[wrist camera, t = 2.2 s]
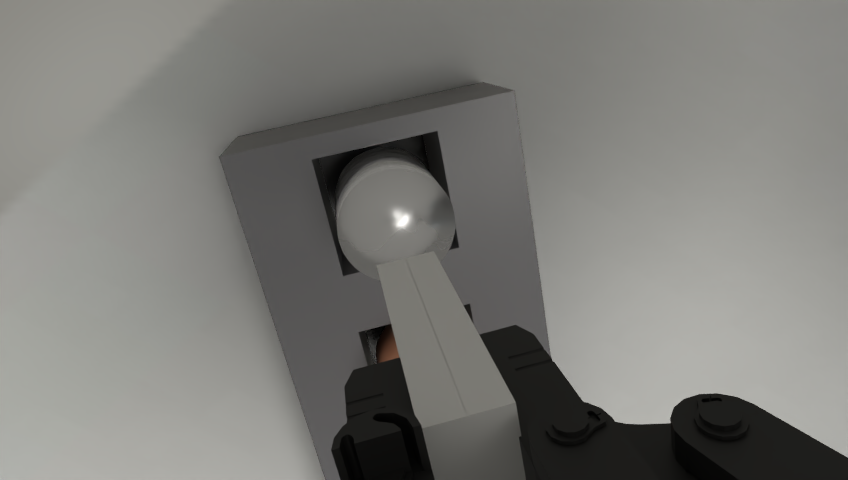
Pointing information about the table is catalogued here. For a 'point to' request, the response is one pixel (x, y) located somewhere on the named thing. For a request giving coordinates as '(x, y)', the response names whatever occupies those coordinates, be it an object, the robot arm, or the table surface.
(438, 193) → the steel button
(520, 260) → the button console
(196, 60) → the table surface
